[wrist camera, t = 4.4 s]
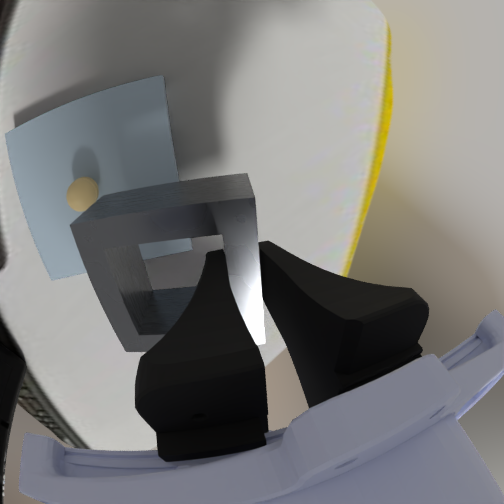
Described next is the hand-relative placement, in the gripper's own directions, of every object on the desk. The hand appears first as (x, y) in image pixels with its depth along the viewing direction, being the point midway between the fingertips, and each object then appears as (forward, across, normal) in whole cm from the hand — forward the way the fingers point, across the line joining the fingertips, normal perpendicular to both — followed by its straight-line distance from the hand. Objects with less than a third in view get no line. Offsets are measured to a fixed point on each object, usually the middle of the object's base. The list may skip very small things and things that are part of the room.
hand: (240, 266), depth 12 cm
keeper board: (+9, +8, -3) cm, 13 cm away
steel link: (+3, +2, 0) cm, 4 cm away
